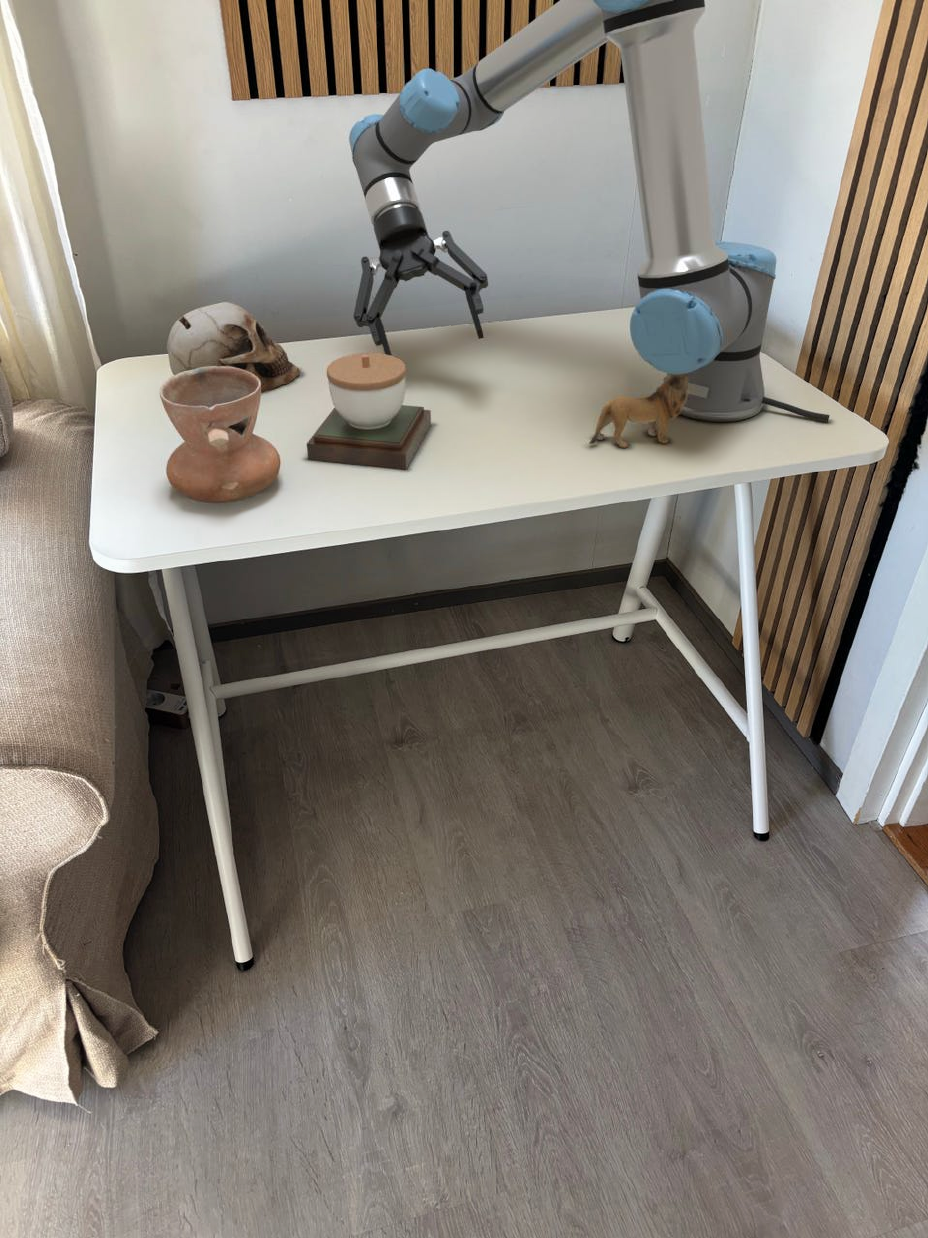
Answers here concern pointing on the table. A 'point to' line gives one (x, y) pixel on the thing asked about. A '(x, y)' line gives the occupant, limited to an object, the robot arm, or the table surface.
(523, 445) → the table surface
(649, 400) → the lion figurine
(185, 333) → the coin bank
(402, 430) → the holder
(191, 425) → the orange-brown waisted vessel
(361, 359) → the lidded bowl
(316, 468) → the table surface
